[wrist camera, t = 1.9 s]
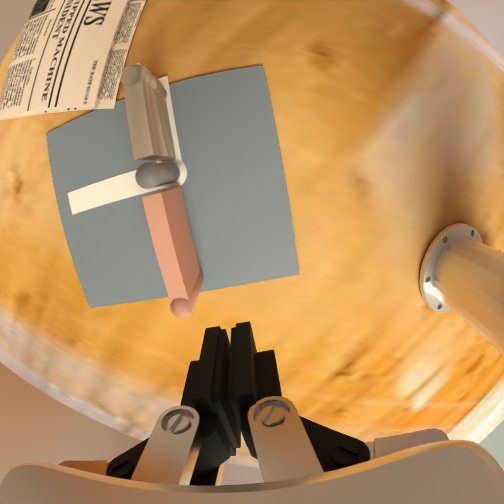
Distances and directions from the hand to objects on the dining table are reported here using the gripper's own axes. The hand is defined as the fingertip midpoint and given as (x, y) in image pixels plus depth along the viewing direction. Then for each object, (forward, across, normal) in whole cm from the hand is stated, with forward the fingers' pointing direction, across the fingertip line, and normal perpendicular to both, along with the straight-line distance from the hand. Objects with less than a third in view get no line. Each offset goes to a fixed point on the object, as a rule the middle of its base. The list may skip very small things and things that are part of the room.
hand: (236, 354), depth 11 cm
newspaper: (+19, +14, -37) cm, 44 cm away
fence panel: (+18, +6, -3) cm, 19 cm away
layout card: (+19, +7, -7) cm, 22 cm away
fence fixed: (+19, +5, -14) cm, 24 cm away
